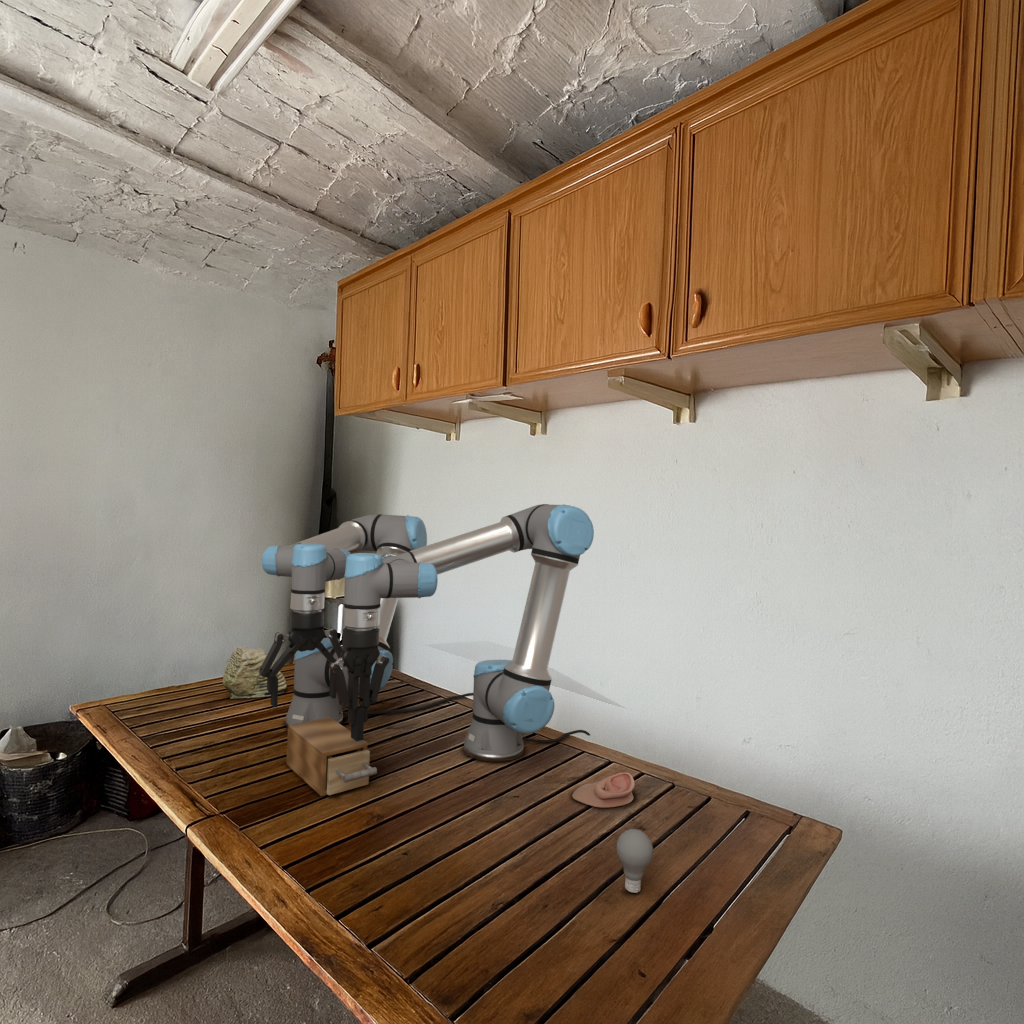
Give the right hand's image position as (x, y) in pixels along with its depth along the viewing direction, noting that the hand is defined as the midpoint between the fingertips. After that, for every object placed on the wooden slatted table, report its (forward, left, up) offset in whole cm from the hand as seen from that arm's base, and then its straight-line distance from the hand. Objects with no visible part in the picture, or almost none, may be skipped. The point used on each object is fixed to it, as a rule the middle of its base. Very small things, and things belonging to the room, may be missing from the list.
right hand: (356, 738), depth 133 cm
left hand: (+9, -20, +3) cm, 22 cm away
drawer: (+2, -9, -12) cm, 15 cm away
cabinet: (+4, -14, -13) cm, 20 cm away
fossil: (+16, -79, -13) cm, 81 cm away
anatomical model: (-51, +17, -13) cm, 55 cm away
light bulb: (-37, +48, -13) cm, 62 cm away
